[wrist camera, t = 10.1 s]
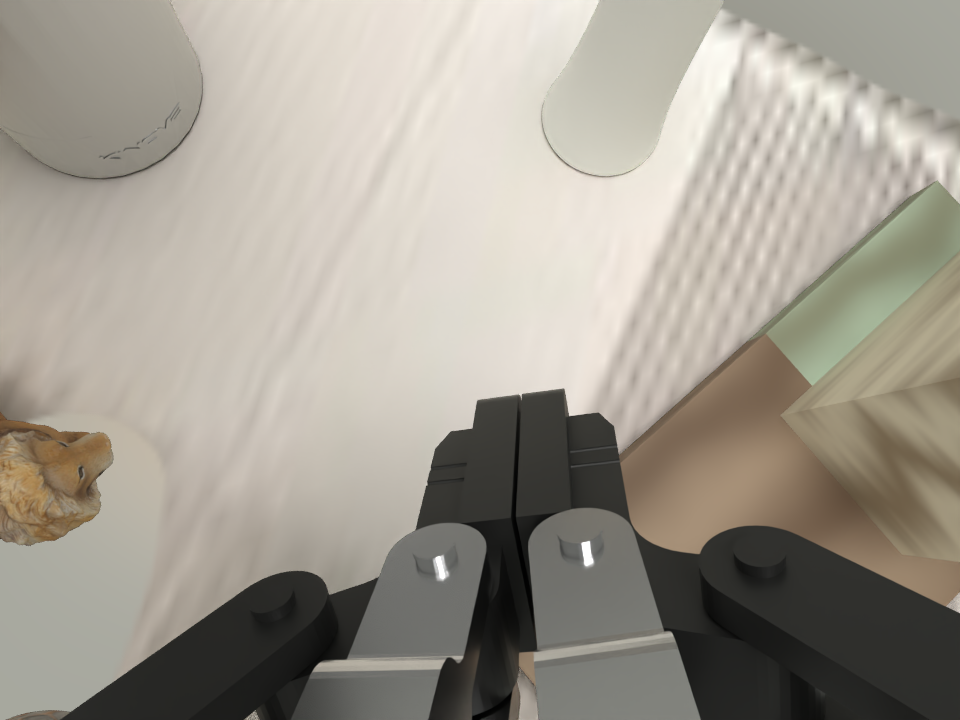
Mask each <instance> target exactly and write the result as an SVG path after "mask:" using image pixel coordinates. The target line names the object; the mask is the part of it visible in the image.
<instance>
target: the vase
mask: <svg viewBox="0 0 960 720" xmlns="http://www.w3.org/2000/svg"><path fill="white" fill-rule="evenodd" d="M69 713H70V712H67V711H57V710H56V711H55V710H48V711H37V712H30V713H25V714H21V715H18V716H15V717H12V718H9V719H6V720H60V719H61V718H63V717H64V716H66V715H67V714H69Z"/></svg>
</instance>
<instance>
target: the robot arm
mask: <svg viewBox="0 0 960 720" xmlns="http://www.w3.org/2000/svg"><path fill="white" fill-rule="evenodd" d="M201 97H202V73H201V70H200V66H199V62H198V58H197V56H196V54H195V52H194V49H193V47H192V45H191V43H190V41H189V39H188V37H187V35H186V33H185V31H184V29H183V27H182V25H181V23H180V21H179V19H178V17H177V15H176V13H175V11H174V9H173V7H172V5H171V3H170V0H0V128H1V129H2V130H3V131H5V132H6V133H7V134H8V135H9V136H10V137H11V138H13V139H14V140H15V141H16V142H17V143H18V144H19V145H21V146H22V147H23V148H24V149H25V150H26V151H28V152H29V153H30V154H31V155H33V156H34V157H35V158H36V159H38V160H39V161H40V162H42V163H44V164H46V165H48V166H50V167H52V168H54V169H56V170H58V171H60V172H63V173H67V174H71V175H75V176H78V177H89V178H108V177H116V176H124V175H127V174H130V173H133V172H136V171H139V170H142V169H144V168H146V167H148V166H150V165H152V164H153V163H155V162H157V161H159V160H161V159H162V158H163V157H165V156H166V155H167V154H168V153H169V152H170V151H172V150H173V149H174V148H175V147H176V146H177V145H178V144H179V143H180V142H181V140H182V139H183V138H184V137H185V135H186V134H187V133H188V131H189V130H190V128H191V126H192V124H193V122H194V120H195V118H196V116H197V113H198V111H199V106H200V101H201ZM427 483H428V486H426V489H425V493H424V497H423V502H422V506H421V510H420V514H419V518H418V522H417V526H416V530H415V531H414V532H412V533H410V534H408V535H407V536H405V537H404V538H402V539H401V540H400V541H399V542H398V543H397V544H396V545H395V546H394V547H393V548H392V549H391V551H390V552H389V554H388V556H387V558H386V560H385V563H384V565H383V568H382V571H381V573H380V576H379V577H378V578H376V579H374V580H372V581H369V582H367V583H364V584H361V585H358V586H355V587H352V588H349V589H346V590H343V591H340V592H337V593H334V594H331V595H329V593H328V590H327V587H326V584H325V582H324V581H323V580H322V579H321V578H320V577H319V576H317V575H315V574H313V573H310V572H305V571H289V572H283V573H279V574H275V575H272V576H269V577H267V578H264V579H262V580H260V581H258V582H256V583H254V584H253V585H251V586H250V587H248V588H246V589H245V590H244V591H242V592H241V593H239V594H238V595H236V596H235V597H234V598H232V599H231V600H229V601H228V602H227V603H225V604H224V605H222V606H221V607H219V608H218V609H217V610H215V611H214V612H212V613H211V614H209V615H208V616H207V617H205V618H204V619H202V620H201V621H200V622H198V623H197V624H195V625H194V626H192V627H191V628H190V629H188V630H187V631H185V632H184V633H182V634H181V635H180V636H178V637H177V638H175V639H174V640H172V641H171V642H170V643H168V644H167V645H165V646H164V647H163V648H161V649H160V650H158V651H157V652H155V653H154V654H153V655H151V656H150V657H148V658H147V659H145V660H144V661H143V662H141V663H140V664H138V665H137V666H135V667H134V668H133V669H131V670H130V671H128V672H127V673H126V674H124V675H123V676H121V677H120V678H118V679H117V680H116V681H114V682H113V683H111V684H110V685H108V686H107V687H106V688H104V689H103V690H101V691H100V692H98V693H97V694H96V695H94V696H93V697H92V698H90V699H89V700H87V701H86V702H84V703H83V704H81V705H80V706H79V707H77V708H76V709H74V710H73V711H72V712H70V713H69V714H67V715H66V716H64V717H63V718H61V719H60V720H244V719H245V718H246V717H248V716H249V715H250V714H251V713H252V712H254V711H255V710H256V712H257V715H258V717H259V719H260V720H518V717H519V709H520V693H519V688H518V684H517V678H518V672H519V653H522V652H534V671H535V682H536V694H537V706H538V718H539V720H960V613H958V612H956V611H954V610H952V609H950V608H948V607H946V606H944V605H941V604H939V603H937V602H935V601H933V600H931V599H929V598H927V597H925V596H923V595H921V594H919V593H917V592H915V591H913V590H911V589H908V588H906V587H904V586H902V585H900V584H898V583H896V582H894V581H892V580H890V579H888V578H886V577H884V576H882V575H880V574H878V573H875V572H873V571H871V570H869V569H867V568H865V567H863V566H861V565H859V564H857V563H855V562H853V561H851V560H849V559H847V558H845V557H842V556H840V555H838V554H836V553H834V552H832V551H830V550H828V549H826V548H824V547H822V546H820V545H818V544H816V543H814V542H812V541H809V540H807V539H805V538H803V537H801V536H799V535H797V534H795V533H792V532H790V531H787V530H784V529H780V528H776V527H770V526H759V525H754V526H741V527H736V528H732V529H728V530H726V531H723V532H721V533H719V534H717V535H715V536H714V537H712V538H711V539H710V540H709V541H707V542H706V544H705V545H704V546H703V548H702V550H701V552H700V554H694V553H686V552H679V551H673V550H669V549H666V548H662V547H660V546H657V545H655V544H653V543H651V542H649V541H648V540H646V539H645V538H643V537H642V536H641V535H640V534H639V533H638V532H637V531H636V530H635V529H634V527H633V525H632V523H631V520H630V516H629V510H628V504H627V499H626V493H625V487H624V482H623V476H622V470H621V465H620V459H619V453H618V448H617V442H616V436H615V430H614V426H613V425H612V424H610V423H609V422H608V421H607V420H606V419H605V418H604V417H603V416H602V415H601V414H600V413H592V414H584V415H576V416H569V413H568V407H567V401H566V395H565V390H564V389H557V390H549V391H541V392H534V393H526V394H522V401H521V397H520V395H512V396H505V397H497V398H490V399H482V400H478V401H477V405H476V411H475V417H474V423H473V429H467V430H459V431H451V432H450V433H449V434H448V435H447V436H446V438H445V439H444V440H443V441H442V442H441V443H440V444H439V445H438V446H437V448H436V449H435V452H434V456H433V460H432V465H431V471H430V473H429V477H428V481H427Z"/></svg>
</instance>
